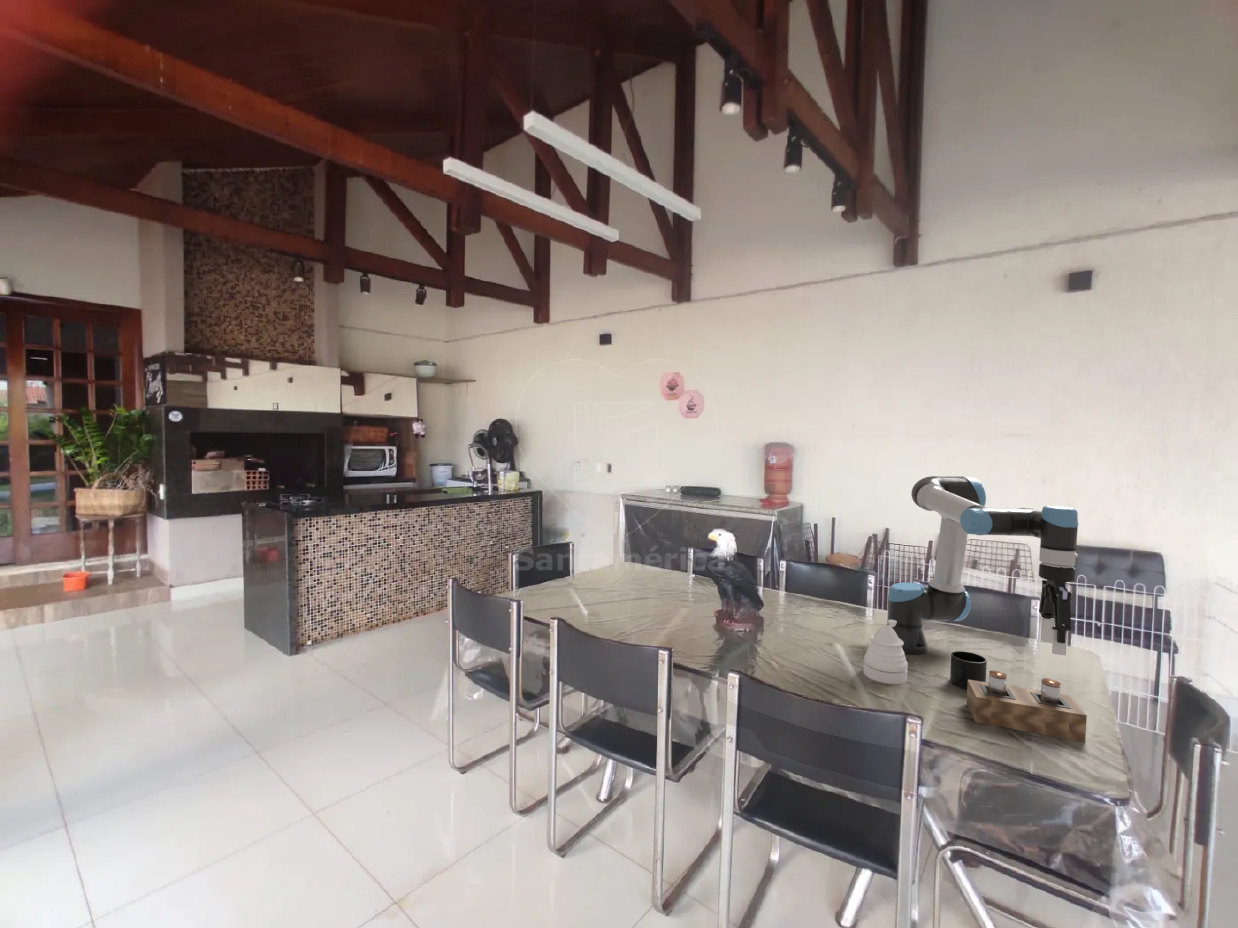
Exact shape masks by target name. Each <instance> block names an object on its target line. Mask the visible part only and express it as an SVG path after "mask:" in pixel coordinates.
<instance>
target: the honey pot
mask: <svg viewBox="0 0 1238 928" xmlns="http://www.w3.org/2000/svg"><path fill="white" fill-rule="evenodd" d="M887 620H888V619H887ZM888 623H889V625H887V624H883V625H882V626H880V627H879V628H878V629H877V630H876V632H875V633H874V634H872V635H870V636H869V641H870V643H869V645H867V649H866V651H865V654H864V656H863V674H864V675H865V676H866V677H867V678H869V679H871V680H873V681H876V682H879V683H883V684H888V685H901V684H905V683H907V681H908V666H909V665H908V664H909V663H908V661H907V660H906V659H907V658H906V655H905V653H904V651H903V649H902V646H903V645H904V642H903V641H902V640H901V639H899V638H898V636H897V634H896V632H895V631H894V630H893V628H892V627H894V626H895V625H896V624H897V621H896V620H888Z"/></svg>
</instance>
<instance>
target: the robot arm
mask: <svg viewBox="0 0 1238 928" xmlns="http://www.w3.org/2000/svg"><path fill="white" fill-rule="evenodd" d="M911 489H912V490H911V492H910V493H911V499H912V501H913V502H914V503H915V505H916V506H917V507H919V508H921V509H923V510H925V511H928V512H932V511H934V512H936V513H938V515H940V517H941V519H940V526H939V527H940V528H939V535H938V541H937V542H938V543H937V550H936V559H935V565H934V571H933V572H934V573H933V578H931V579H929V580H928V583H927V587H924V585H923V584H921V583H917V582H910V581H909V582H907V581H905V582H897V583H893V584H892V585H890V586H889V588H888V593H887V594H888V595H887V622H886V623H887V624H886V625H889V623H888V620H896V621H897V624H896V625H895V626H894V627H892V628H893V630H894V631H895V632H896V634H897V636H898V638H899V639H901V640H902V641H903V642H904V645H903V646H902V649H903V651H904V654H908V655H922V654H923V655H924V654H925V653H927V651H928V642H927V640H926V636H925V632H924V630H923V625H924V624H923V623H924V621H940V622H960V621H963V620H965V619H966V618H967V617H968V615H969V614H970V610H971V606H972V605H971V601H970V600H971V598H970V595H969V593H968V591H966V588H965V586H964V585H963V584H962V578H963V570H964V565H965V555H966V549H967V542H968V535H975V536H1017V537H1033V538H1037V539H1040V542H1039V543H1040V545H1039V559H1038V560H1039V562H1041V563H1039V565H1038V576H1039V577H1040V578H1041V579H1042V580H1041V592H1040V593H1041V594H1040V602H1039V607H1038V609H1039V610H1038V612H1039V614H1040V617H1041V626H1040V628H1041V630H1040V642H1042V643H1047V644H1048V643H1049V644H1052V646H1051V648H1052V649H1051V653H1052V654H1053V655H1058V656H1059V655H1060V656H1066V655H1067V639H1068V632H1071V630H1072V619H1071V618H1072V617H1071V615H1072V613H1071V611H1072V610H1071V600H1072V599H1071V598H1072V593H1071V591H1068V588H1067V586H1066V584H1067V583H1073V582H1075V579H1076V568H1075V567H1074V566H1075V565H1076V558H1078V557H1079V554H1078V553H1077V544H1078V541H1077V540H1078V530H1079V528H1078V527H1079V521H1078V518H1079V517H1078V510H1077V509H1076V508H1074V507H1070V506H1069V507H1068V506H1060V505H1045V506H1043V507H1042V509H1041V510H1038V509H1034V508H1029V507H1028V508H1026V507H1025V508H1024V507H1019V508H1015V509H1014V508H1011V509H1010V508H989V507H986V501H987V496H986V491H985V488H984V486H983V484H982V483H981V481H980V480H979V479H977V478H976V477H973V476H972V477H970V476H937V475H931V476H926V477H924V478H921V479H919V480H918V481H917V482H916V483H915V484H914V485H913V487H912V488H911Z"/></svg>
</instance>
